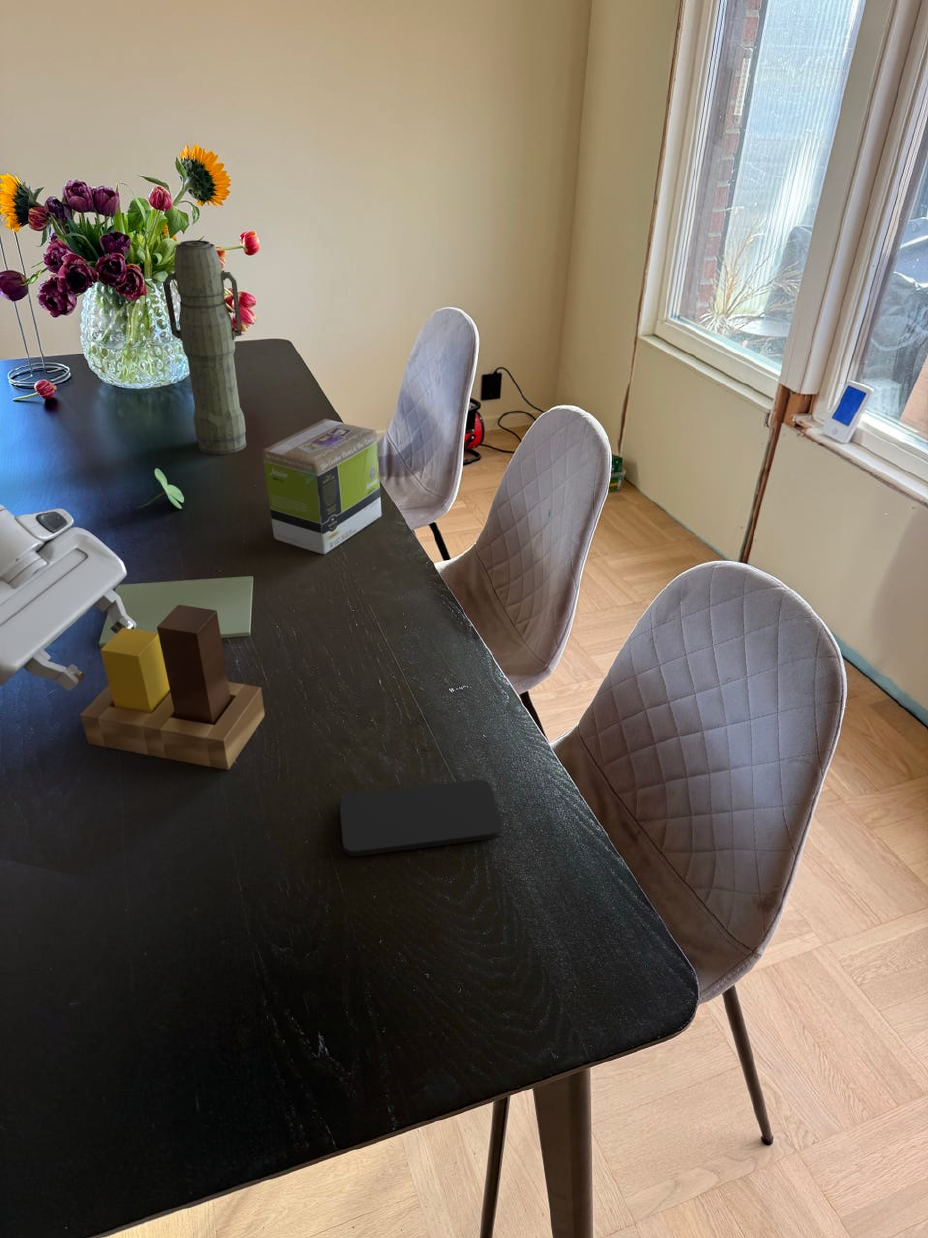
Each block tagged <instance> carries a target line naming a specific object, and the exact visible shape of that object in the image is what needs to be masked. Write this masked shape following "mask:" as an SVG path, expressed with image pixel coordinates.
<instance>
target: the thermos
mask: <svg viewBox="0 0 928 1238" xmlns="http://www.w3.org/2000/svg"><path fill="white" fill-rule="evenodd" d="M173 257H174V261H173V267H174V272H173V273H169V274H167V276H166V278H165V279H164V281H163V282H162V288H163V293H164V297H165V298H164V299H165V302H166V308H167V313H168V318H169V323H170V332H171V334H172V335H173V336H174V337H175V338H176V339H178V340H180V342H181V344H182V350H183V353H184V355H185V356H186V359H187V365H188V372H189V377H190V385H191V391H192V398H193V404H194V411H193V418H192V419H193V425H194V430H195V437H196V438H197V442H198V443H197V444H198V449H199V450H200V452H202V453H205V454H208V455H209V454H210V455H217V456H218V455H221V456H223V455H230V454H234V453H237V452H240V451H242V450H243V449H245V448H246V447H247V440H246V432H247V430H246V421H245V415H244V412H243V410H242V408H241V406H240V398H239V389H238V382H237V381H238V380H237V374H236V366H235V359H234V357H235V355H234V354H235V351H236V342H235V340H236V338H237V337H241V336H242V333H243V332H242V330H243V329H242V318H241V317H242V316H241V309H240V308H241V307H240V301H239V292H238V291H239V290H238V283H237V279H236V278H235V277H234V276H233V274H232V273H231V272H230V271H225V270H224V269H223V267H222V261H221V258H220V256H219V254H218V252H217V249H216V247H215V244H214V243H212V242H211V243H210V241H208V240H199V239H198V240H197V239H196V240H195V239H194V240H193V239H192V240H184V241H181V242H179V243H178V244H176V245H175V251H174V256H173ZM227 279H229V281H230V282H231V291H232V299H233V308H234V315H235V324H236V327H235V326H234V325H233V318H232V316H231V314H230V312H229V308H228V306H227V301H226V299H225V292H226V291H225V284H224V282H225V281H226V280H227ZM171 281H175V282H176V288H177V293H178V295H179V298H180V301H179V307H180V310H179V315H178V324H179V329H178V326H177V321H176V313H175V307H174V301H173V294H172V287H171Z"/></svg>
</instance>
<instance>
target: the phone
mask: <svg viewBox="0 0 928 1238" xmlns="http://www.w3.org/2000/svg"><path fill="white" fill-rule="evenodd" d="M499 812H500V811H499V809H498V805H497V802H496V798H495V794H494V792H493V788H492V785H491V784H490V783H489V781H487V780H484V779H471V780H461V781H455V782H445V783H438V784H436V783H435V784H430V785H429V784H428V785H421V786H410V787H403V788H395V789H387V790H378V791H369V792H362V793H361V792H360V793H353V794H348V795H345V796H343V797H342V798H341V799H340V801H339V818H340V819H339V821H340V831H341V842H342V850H343V852H344V853H345V854H346V855H348V856H350V857H363V856H369V855H378V854H384V853H393V852H402V851H408V850H416V849H424V848H430V847H439V846H447V845H453V844H454V845H456V844H463V843H470V842H477V841H485V840H492V839H495V838H497V837H499V836H500V835H501V833H502V830H503V829H502V827H503V824H502V820H501V816H500V813H499Z"/></svg>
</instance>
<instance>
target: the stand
mask: <svg viewBox="0 0 928 1238" xmlns="http://www.w3.org/2000/svg"><path fill="white" fill-rule="evenodd" d="M228 684H229V690H230V696H231V703H230V705H229V706H228V708H227V709H226V710H225V712H224V713H223V714H222V716H221V717H220V719H219V720H218V721H217V723H216V724H215V725H210V724H204V723H199V722H193V721H188V720H182V719H176V717H175V712H174V707H173V702H172V697H171V693H169V694H168V695H167V697H166V698H165V699H164V700H163V701H162V703H161V704H160V705H159V706H158V707H157V709H156V710H155V711H154V712H153V713H152V714H148V713H143V712H137V711H131V710H126V709H120V708H115V705H114V701H113V697H112V693H111V690H110V686H109V684H107V686H105V688H104V689H103V690H102V691H101V692H100V693H99V694H98V695H97V696H96V697H95V698H94V700H93V701H92V702H91V703H90V704H89V705H88V706H87V707H86V708H85V709H84V710H82V712H81V713H80V714H79V716H80V719H81V723H82V726H83V730H84V733H85V734H84V735H85V737H86V740H87V743H88V745H92V746H98V747H103V748H110V749H114V750H120V751H125V752H129V753H135V754H141V755H145V756H150V757H155V758H162V759H167V760H172V761H178V762H182V763H187V764H192V765H198V766H199V765H200V766H204V767H208V768H210V767H211V768H215V769H220V770H226V771H229V770H230V769H231V767H232V766H233V764H234V763H235V762H236V759H237V758H238V757H239V755H240V754H241V752H242V751H243V749H244V748H245V746H246V744H247V743H248V741H249V740H250V739H251V737H252V736H253V734H254V732H256V730H257V728H258V726H259V725H260V724H261V722H262V720H263V719H264V717H265V716H266V715H265V708H264V699H263V692H262V687H260V686H256V685H249V684H244V683H237V682H231V681H228Z"/></svg>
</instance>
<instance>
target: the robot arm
mask: <svg viewBox="0 0 928 1238" xmlns="http://www.w3.org/2000/svg"><path fill="white" fill-rule="evenodd" d="M74 520H75V519H74V518H73V517H72V515H71V514H70V513H69V512H68V511H66V510H65V509H63V508H60V507H59V508H52V509H48V510H43V511H38V512H33V513H24V514H18V515H16V516H15V514H13V513H12V512H11V511H10V510H8V508H6V507H5V506H4V505H3V504H0V686H3V685H5V684H6V683H7V682H8V681H10V680H11V679H12V678H13V677H14V676H15V675H16V674H17V673H19V672H20V671H21V670H22V669H23V668H24V669H25V670H26V671H27V672H28V673H30V674H31V675H32V676H34V677H38V678H41V679H46V680H48V681H49V680H50V681H55V682H56V683H57V684H59V685H60V686H61V687H62V688H63V689H65V690H66V691H72V690H73V689H75V687H76V686H77V685H79V683H81V682H82V681H83V679H84V678H85V673H84V672H83V671H81V670H79V669H78V666H76V665H75V664H73V663H71V664H70V665H68V667H66V666H64V665H61V664H57V663H55V662H52V661H49V660H50V659H51V658H52V657H51V655H49V653H47V652H46V651H45V649H46V648H48V647H49V646H50V645H51V644H52V643H53V642H54V641H55V640H56V639H58V638H59V637H61V635H62V634H63V633H65V632H66V631H67V630H68V629H69V628H70V627H72V626H73V625H74V624H75V623H76V622H77V621H78V620H80V619H81V618H82V617H83V616H85V614H86V613H88V611H90V610H91V609H92V608H93V607H96V608H97V609H98V610H99V611H100V612H102V613H105V611H106V612H107V615H108V614H109V616H110V618H111V620H112V622H113V624H114V625H113V626H112V627H111V628H110V629H111V630H112V631H113V632H114V633H118V632H119V631H120V630H121V629H122V628H129V629H135V628H136V627H137V624H136V623H135V622H134V621H133V620H132V619H131V618H130V617H129V616H128V615H127V614H126V611H125V609H124V606H123V604H122V601H121V599H120V596H119V595H117V594H116V593H115V590H114V589H116V586H117V585H120V583H121V582H122V581H123V580H124V579H125V578H126V577H127V575H128V572H127V569H126V566H125V563H124V562H123V560H121V559H122V558H120V557H119V556H118V555H117V554H116V553H115V552H114V551H112V550H111V549H110V547H108V546H107V545H106V544H104V543H103V542H102V540H100V539H99V538H98V537H96V536H95V535H94V534H93V533H91V532H90V531H88V530H86V529H85V528H81V527H79V526H75V527H72V526H73V525H74V522H75V521H74Z"/></svg>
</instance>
